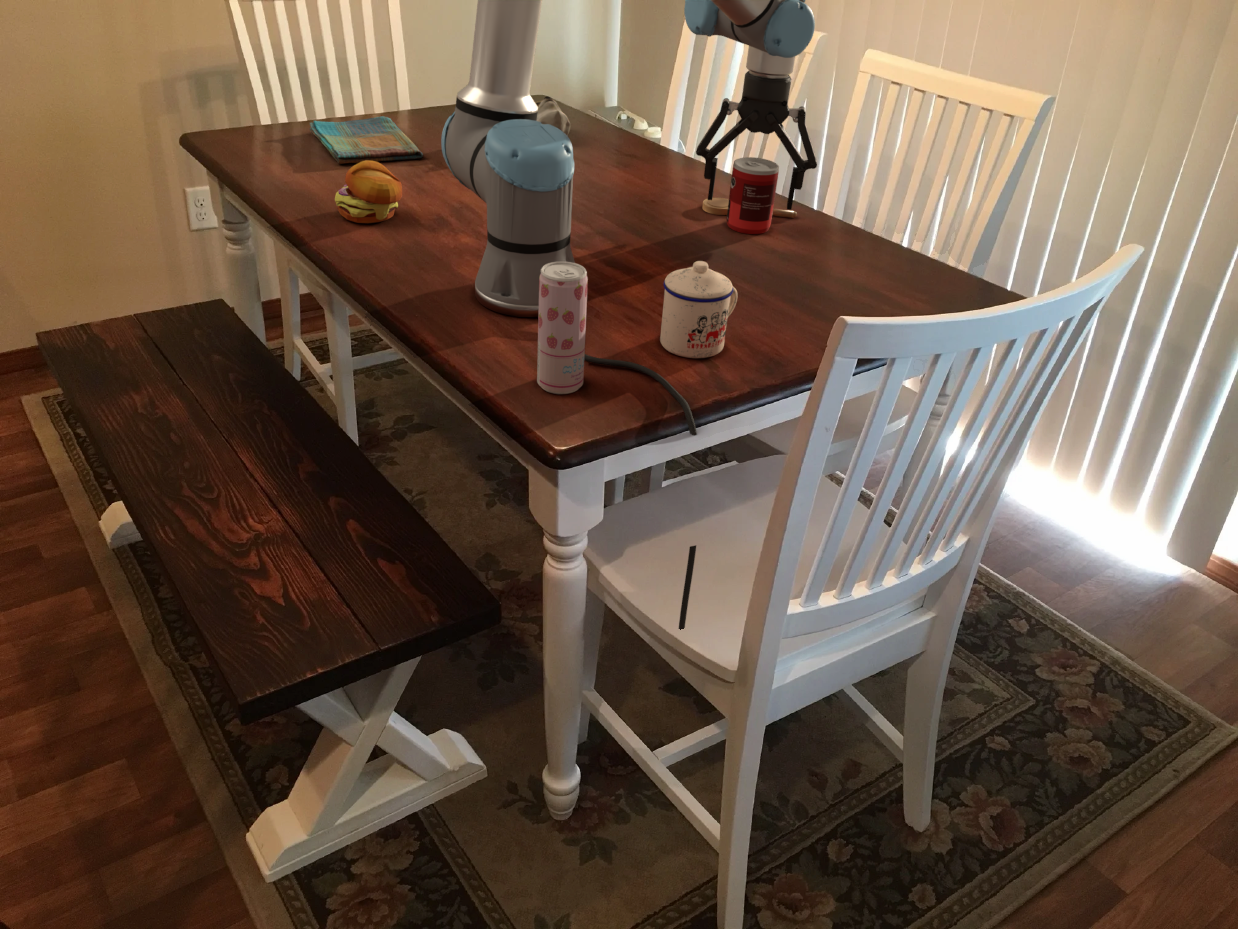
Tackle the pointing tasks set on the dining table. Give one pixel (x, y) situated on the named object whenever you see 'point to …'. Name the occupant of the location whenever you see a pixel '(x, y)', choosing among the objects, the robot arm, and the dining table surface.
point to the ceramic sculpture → (552, 115)
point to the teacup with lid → (696, 311)
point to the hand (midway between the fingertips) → (749, 202)
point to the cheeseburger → (368, 193)
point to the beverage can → (561, 327)
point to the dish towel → (365, 140)
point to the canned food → (752, 195)
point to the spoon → (721, 207)
